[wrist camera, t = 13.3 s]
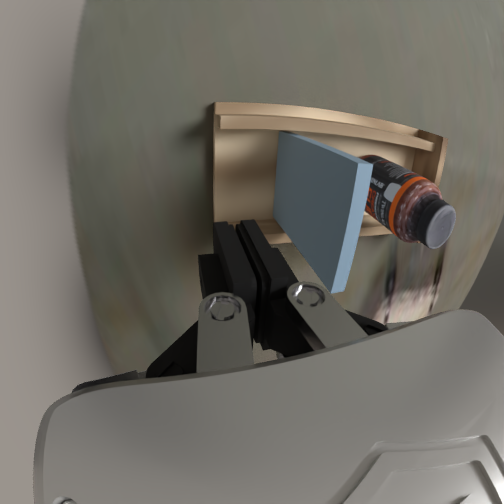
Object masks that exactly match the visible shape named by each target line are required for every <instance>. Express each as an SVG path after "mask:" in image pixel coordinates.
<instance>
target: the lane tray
mask: <svg viewBox="0 0 504 504" xmlns="http://www.w3.org/2000/svg"><path fill="white" fill-rule="evenodd" d="M279 131H288V132H292V133H295V134H298V135H301V136H304V137H307V138H310V139H312V140H315V141H318V142H320V143H323V144H326V145H328V146H331V147H333V148H336V149H338V150H341V151H343V152H346V153H348V154H350V155H353V156H355V157H357V158H361V157H362V156H365V155H377V156H380V157H382V158H385V159H387V160H389V161H391V162H393V163H396V164H398V165H400V166H402V167H404V168H406V169H408V170H410V171H412V172H414V173H417V174H418V175H420V176H422V177H424V178H426V179H428V180H430V181H431V182H433V183H434V184H435V185H436V186H437V187H438V188H439V183H440V179H441V175H442V170H443V165H444V160H445V155H446V149H447V144H448V139H447V138H444V137H441V136H438V135H435V134H432V133H429V132H426V131H423V130H419V129H416V128H412V127H408V126H405V125H401V124H397V123H393V122H389V121H384V120H380V119H376V118H371V117H366V116H361V115H356V114H350V113H344V112H338V111H332V110H325V109H318V108H310V107H301V106H291V105H279V104H264V103H240V102H214V133H213V211H214V222H223V221H227V222H228V224H233V226H234V229H235V226H236V224H240V221H241V220H251V219H254V220H255V221H256V223H257V224H258V226H259V228H260V229H261V231H262V233H263V234H264V236H265V238H266V239H267V241H268V243H269V244H277V243H289V242H292V241H291V239H290V238H289V237H288V236H287V234H286V233H285V232H284V230H283V229H282V228H281V226H280V225H279V224H278V223H277V221H276V220H275V219H274V217H273V205H274V193H275V180H276V167H277V153H278V139H279ZM382 234H393V233H392V232H391V231H390V230H388V229H387V228H386V227H385V226H383V225H382V224H381V223H380V222H378V221H377V220H376V219H374V218H373V217H372V216H370V215H369V214H368V213H366V212H365V211H364V215H363V220H362V224H361V228H360V233H359V236H370V235H382ZM417 243H421V242H420V241H418V242H417Z"/></svg>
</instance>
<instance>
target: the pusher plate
mask: <svg viewBox="0 0 504 504" xmlns="http://www.w3.org/2000/svg"><path fill="white" fill-rule="evenodd" d="M372 169H373V164H371V163H369V162H367V161H364V160H362V159H360V158H357V157H355V156H353V155H350V154H348V153H346V152H343V151H341V150H338V149H336V148H333V147H331V146H328V145H326V144H323V143H320V142H318V141H315V140H312V139H310V138H307V137H304V136H301V135H298V134H295V133H292V132H288V131H279V139H278V153H277V167H276V180H275V193H274V205H273V217H274V219H275V220H276V221H277V223H278V224H279V225H280V226H281V228H282V229H283V230H284V232H285V233H286V234H287V236H288V237H289V238H290V239H291V241H292V242H293V243H294V245H295V246H296V247H297V249H298V250H299V251H300V253H301V254H302V255H303V257H304V258H305V259H306V261H307V262H308V263H309V265H310V266H311V267H312V269H313V270H314V271H315V273H316V274H317V275H318V277H319V278H320V279H321V281H322V282H323V284H324V285H325V286H326V288H327V289H328V290H329V292H330V293H336V292H341V291H344V289H345V286H346V282H347V279H348V275H349V272H350V268H351V264H352V261H353V257H354V253H355V249H356V245H357V241H358V237H359V233H360V228H361V224H362V220H363V215H364V210H365V206H366V201H367V196H368V191H369V186H370V180H371V175H372Z"/></svg>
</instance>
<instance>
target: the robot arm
mask: <svg viewBox="0 0 504 504" xmlns="http://www.w3.org/2000/svg"><path fill="white" fill-rule="evenodd" d="M213 246H214V254H204V255H198V263H199V276H200V285H201V291H202V297H203V300H202V302H201V303H200V306H199V317H198V321H197V322H196V323H194V324H193V325H192V326H191V327H190V328H189V329H188V330H187V331H186V332H185V333H184V334H183V335H182V336H181V337H179V338H178V339H177V340H176V341H175V342H174V343H173V344H172V345H171V346H170V347H169V348H168V349H167V350H166V351H164V352H163V353H162V354H161V355H160V356H159V357H158V358H157V359H156V360H155V361H154V362H153V363H152V364H151V365H150V366H149V367H148V369H147V370H146V371H143V372H139V373H138V372H137V370H134V371H130V372H126V373H122V374H118V375H114V376H110V377H106V378H102V379H98V380H93V381H88V382H84V383H82V384H79V385H77V386H76V387H75V388H74V389H73V391H72V393H71V394H68V395H66V396H64V397H62V398H60V399H59V400H57V401H56V402H54V403H53V404H52V405H51V406H50V407H49V408H48V409H47V411H46V412H45V414H44V416H43V418H42V420H41V423H40V426H39V430H38V434H37V439H36V445H35V453H34V468H33V491H34V492H33V493H34V504H504V337H503V335H502V334H501V333H500V332H499V331H498V330H497V329H496V328H495V327H494V326H493V325H492V323H490V321H489V320H488V319H486V318H485V317H484V316H483V315H481V314H480V313H478V312H475V311H471V310H462V309H459V310H449V311H445V312H440V313H437V314H434V315H431V316H427V317H424V318H421V319H419V320H416V321H410V322H399V323H386V325H385V326H384V325H383V324H381V323H379V322H377V321H374V320H372V319H369V318H366V317H363V316H361V315H358V314H355V313H352V312H350V311H347V310H344V309H343V308H342V307H341V305H340V304H339V303H338V302H337V301H336V300H335V299H334V298H333V297H332V296H331V295H330V294H329V293H328V291H327V290H326V289H324V288H323V287H322V286H320V285H318V284H316V283H312V282H299V281H298V280H297V278H296V277H295V275H294V273H293V272H292V270H291V269H290V267H289V265H288V264H287V262H286V260H285V259H284V257H283V256H282V254H281V253H280V251H279V249H278V248H271V246H270V244H269V243H268V241H267V239H266V238H265V236H264V234H263V233H262V231H261V229H260V228H259V226H258V224H257V223H256V221H255V220H254V219H251V220H241V221H240V224H236V226H235V229H234V226H233V224H228V222H227V221H223V222H213ZM253 339H254V340H255V342H256V343H260V344H261V347H262V349H263V350H268V349H272V350H274V351H276V356H277V358H278V359H277V360H272V361H267V362H262V363H257V364H254V359H253V352H252V351H253Z"/></svg>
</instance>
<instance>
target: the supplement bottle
mask: <svg viewBox="0 0 504 504" xmlns="http://www.w3.org/2000/svg"><path fill="white" fill-rule="evenodd" d="M360 159H362V160H364V161H367V162H369V163H371V164H373V169H372V175H371V180H370V186H369V191H368V196H367V201H366V206H365V210H364V211H365V212H366V213H368V214H369V215H370V216H372V217H373V218H374V219H376V220H377V221H378V222H380V223H381V224H382V225H383V226H385V227H386V228H387V229H388V230H390V231H391V232H392V233H393V234H395V235H396V236H397V237H398V238H400V239H401V240H403V241H405V242H408V243H414V242H418V241H420V242H421V243H423V244H424V245H426V246H427V247H428V248H430V249H435V248H438V247H440V246H441V245H442V244H443V243H444V242H445V241H446V240H447V239H448V237H449V236H450V234H451V232H452V230H453V228H454V224H455V219H456V214H455V210H454V208H453V207H452V206H451V205H449V204H448V203H446V202H445V201H444V200H442V196H441V193H440V190H439V189H438V187H437V186H436V185H435V184H434V183H433V182H431V181H430V180H428V179H426V178H424V177H422V176H420V175H418V174H417V173H414V172H412V171H410V170H408V169H406V168H404V167H402V166H400V165H398V164H396V163H393V162H391V161H389V160H387V159H385V158H382V157H380V156H377V155H365V156H362V157H361V158H360Z"/></svg>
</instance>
